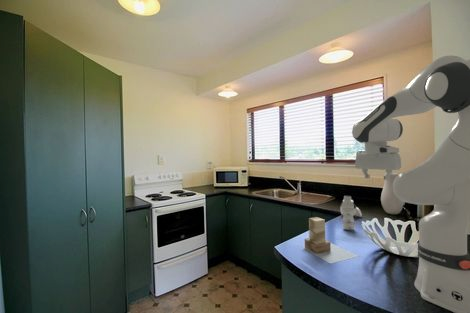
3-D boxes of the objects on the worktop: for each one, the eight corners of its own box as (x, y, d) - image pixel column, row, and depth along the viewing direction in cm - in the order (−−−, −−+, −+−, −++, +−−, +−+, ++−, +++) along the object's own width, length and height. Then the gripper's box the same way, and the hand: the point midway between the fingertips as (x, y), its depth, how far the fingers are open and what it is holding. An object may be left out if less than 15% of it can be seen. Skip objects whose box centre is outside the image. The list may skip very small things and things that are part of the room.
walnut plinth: (330, 250, 99) (330, 241, 99) (316, 254, 96) (316, 244, 96) (318, 244, 106) (318, 236, 106) (304, 247, 104) (304, 238, 104)
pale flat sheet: (359, 258, 93) (359, 256, 93) (330, 266, 87) (330, 263, 87) (328, 243, 110) (327, 241, 110) (301, 248, 104) (301, 246, 104)
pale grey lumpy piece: (338, 215, 160) (338, 199, 160) (349, 213, 165) (348, 198, 165) (353, 219, 149) (353, 202, 149) (364, 217, 154) (363, 201, 154)
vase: (376, 212, 166) (375, 173, 166) (390, 210, 170) (389, 172, 170) (394, 216, 153) (392, 174, 153) (408, 214, 157) (407, 173, 157)
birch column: (325, 241, 100) (324, 219, 100) (316, 243, 98) (316, 221, 98) (317, 237, 104) (317, 217, 104) (309, 239, 103) (308, 218, 103)
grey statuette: (356, 231, 125) (355, 197, 125) (344, 231, 126) (343, 197, 127) (352, 228, 131) (351, 195, 132) (341, 227, 133) (340, 195, 133)
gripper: (351, 150, 110) (352, 177, 110) (393, 148, 91) (394, 181, 91) (360, 150, 112) (361, 177, 112) (403, 148, 93) (404, 180, 93)
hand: (376, 179), depth 101 cm, fingers open, 8 cm apart
